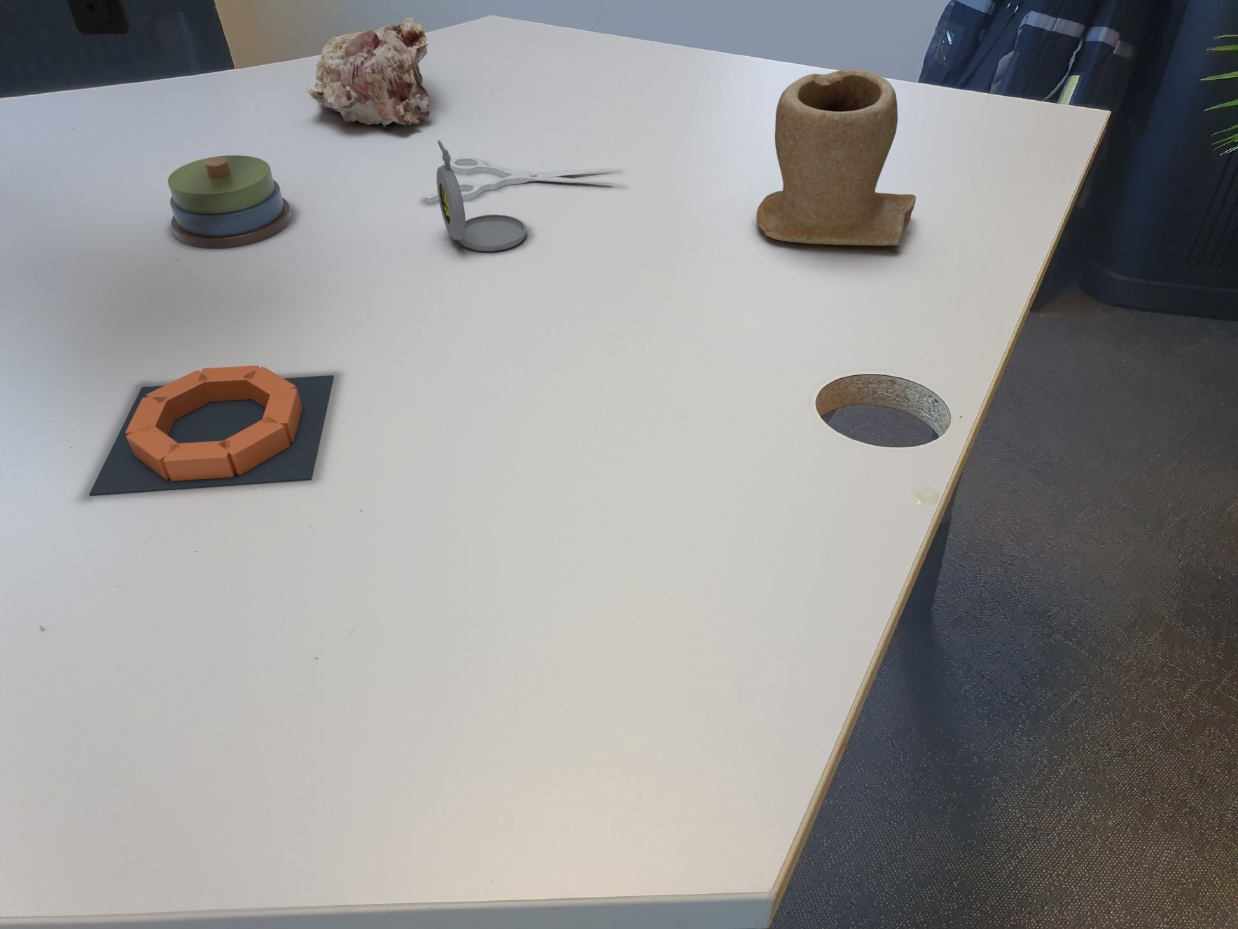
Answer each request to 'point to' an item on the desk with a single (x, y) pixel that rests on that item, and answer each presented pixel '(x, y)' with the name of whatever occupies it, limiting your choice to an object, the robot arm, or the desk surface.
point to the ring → (215, 456)
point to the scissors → (509, 175)
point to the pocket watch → (477, 230)
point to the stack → (226, 202)
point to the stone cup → (835, 163)
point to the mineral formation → (374, 75)
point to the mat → (219, 425)
